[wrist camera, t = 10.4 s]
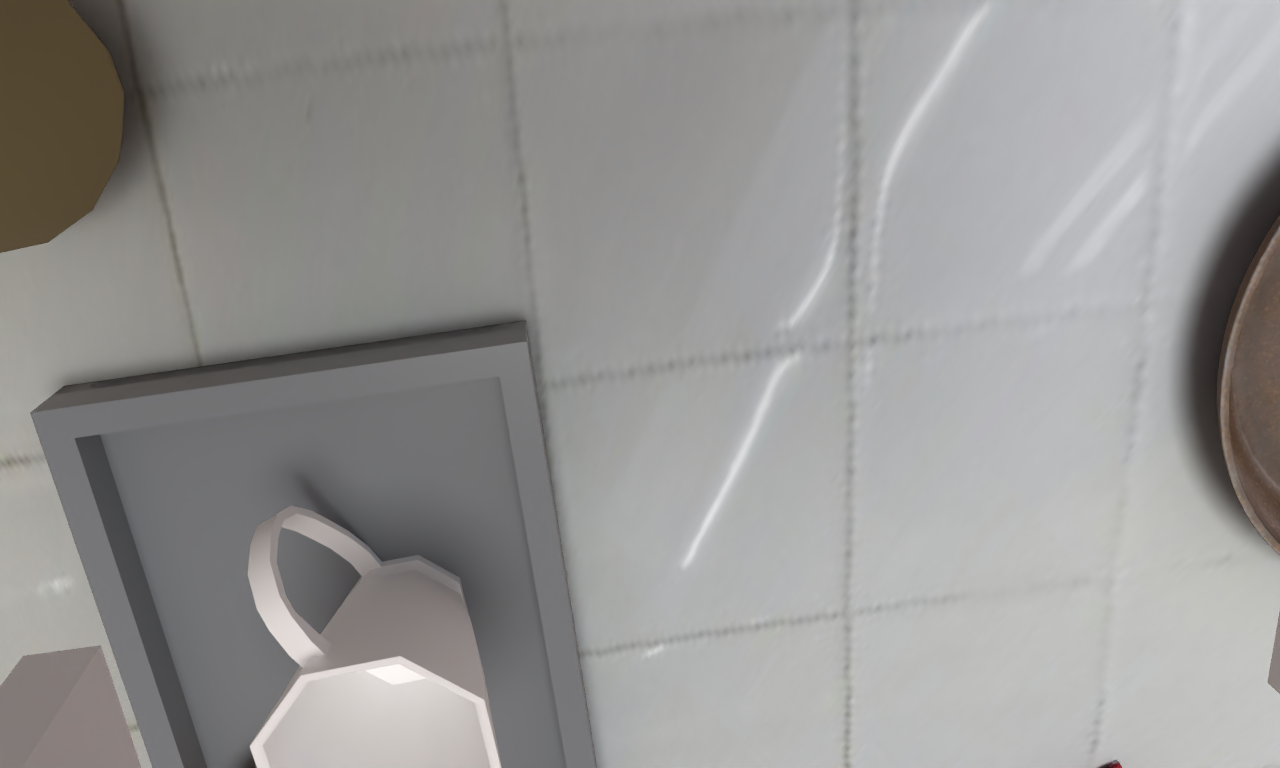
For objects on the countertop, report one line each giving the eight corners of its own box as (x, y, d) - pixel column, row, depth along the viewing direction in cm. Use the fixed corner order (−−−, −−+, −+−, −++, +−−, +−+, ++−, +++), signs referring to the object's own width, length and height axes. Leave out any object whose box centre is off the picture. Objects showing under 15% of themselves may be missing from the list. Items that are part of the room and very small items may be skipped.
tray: (63, 386, 33) (30, 412, 30) (525, 320, 34) (526, 341, 31) (221, 864, 39) (203, 914, 37) (601, 797, 40) (606, 842, 38)
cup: (384, 724, 37) (351, 901, 30) (206, 523, 34) (117, 665, 26) (545, 629, 37) (553, 784, 29) (380, 415, 33) (340, 528, 26)
